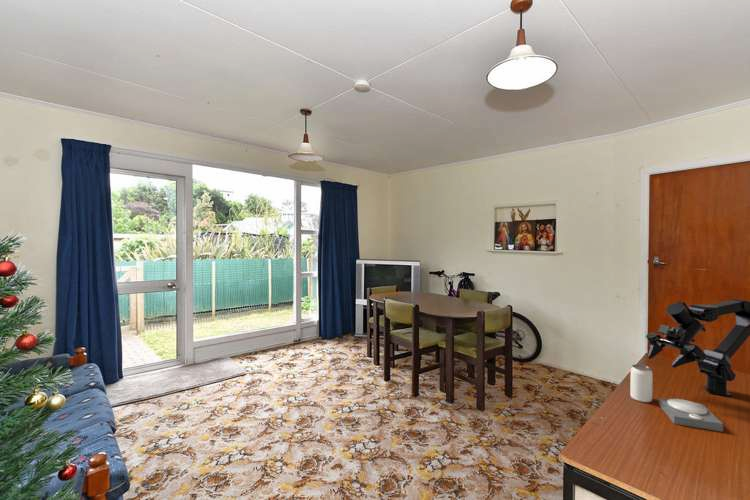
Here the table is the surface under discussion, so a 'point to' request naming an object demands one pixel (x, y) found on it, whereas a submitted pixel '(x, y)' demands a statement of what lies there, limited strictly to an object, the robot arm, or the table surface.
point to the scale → (690, 414)
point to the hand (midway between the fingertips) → (660, 362)
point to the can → (641, 383)
